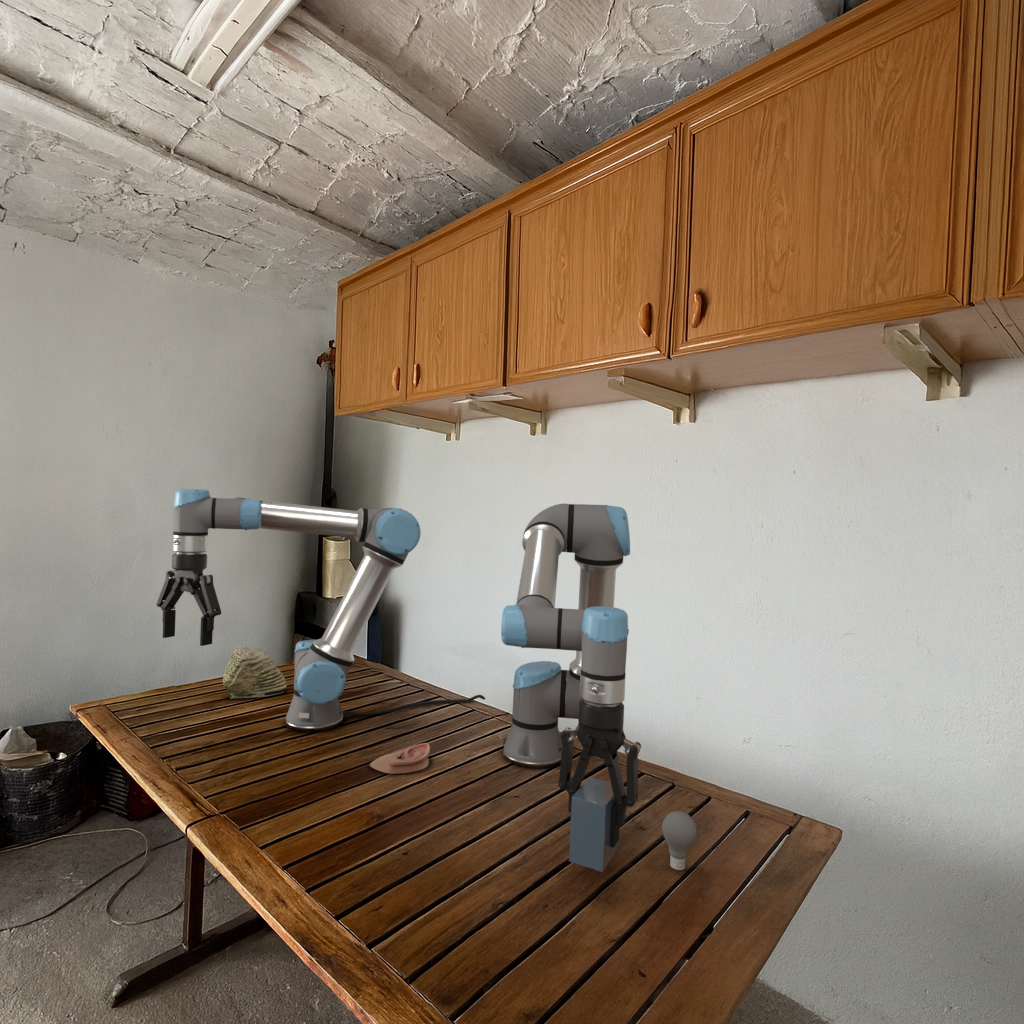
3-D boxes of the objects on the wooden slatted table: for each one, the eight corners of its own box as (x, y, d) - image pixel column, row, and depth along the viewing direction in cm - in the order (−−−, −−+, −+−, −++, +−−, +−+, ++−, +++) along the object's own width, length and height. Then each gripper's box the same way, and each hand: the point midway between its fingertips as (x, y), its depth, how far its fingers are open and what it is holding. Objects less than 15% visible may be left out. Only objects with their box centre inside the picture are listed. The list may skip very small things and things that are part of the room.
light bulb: (655, 859, 115) (658, 804, 115) (687, 858, 116) (690, 804, 116) (666, 878, 109) (669, 821, 109) (700, 878, 110) (702, 821, 110)
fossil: (218, 695, 195) (220, 647, 195) (278, 685, 208) (279, 640, 207) (228, 703, 189) (230, 653, 188) (289, 692, 201) (290, 645, 201)
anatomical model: (364, 753, 147) (384, 735, 158) (364, 770, 147) (383, 751, 158) (419, 760, 144) (435, 742, 155) (418, 778, 144) (434, 758, 156)
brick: (586, 837, 111) (589, 777, 111) (618, 846, 109) (621, 785, 109) (568, 861, 104) (571, 796, 104) (602, 872, 101) (605, 805, 101)
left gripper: (142, 549, 154) (139, 636, 155) (211, 557, 143) (208, 651, 144) (170, 548, 161) (168, 631, 161) (239, 556, 150) (236, 645, 150)
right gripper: (541, 696, 107) (535, 832, 107) (651, 717, 99) (644, 865, 99) (558, 685, 114) (552, 813, 114) (663, 704, 105) (656, 843, 106)
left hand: (187, 640), depth 153 cm, fingers open, 13 cm apart
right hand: (595, 837), depth 106 cm, fingers closed on brick, 6 cm apart
